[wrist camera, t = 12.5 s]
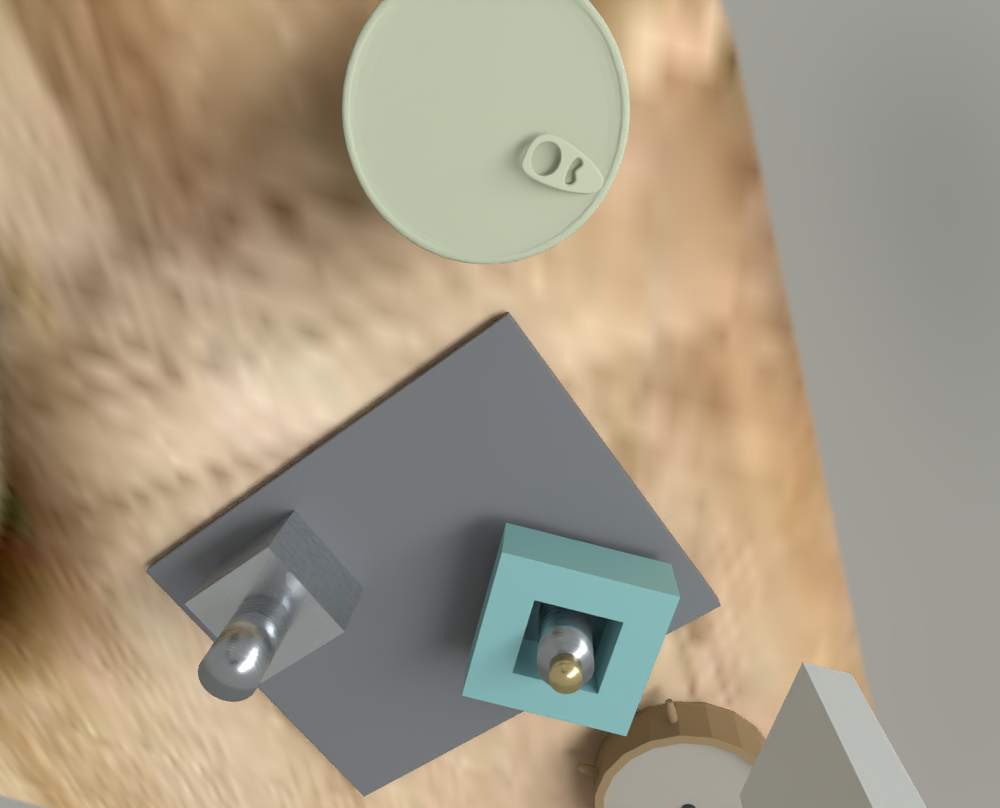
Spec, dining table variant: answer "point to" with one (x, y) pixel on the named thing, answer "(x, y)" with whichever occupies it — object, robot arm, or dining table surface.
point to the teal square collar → (581, 587)
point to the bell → (564, 644)
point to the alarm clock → (676, 759)
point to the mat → (433, 545)
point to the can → (485, 122)
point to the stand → (271, 607)
